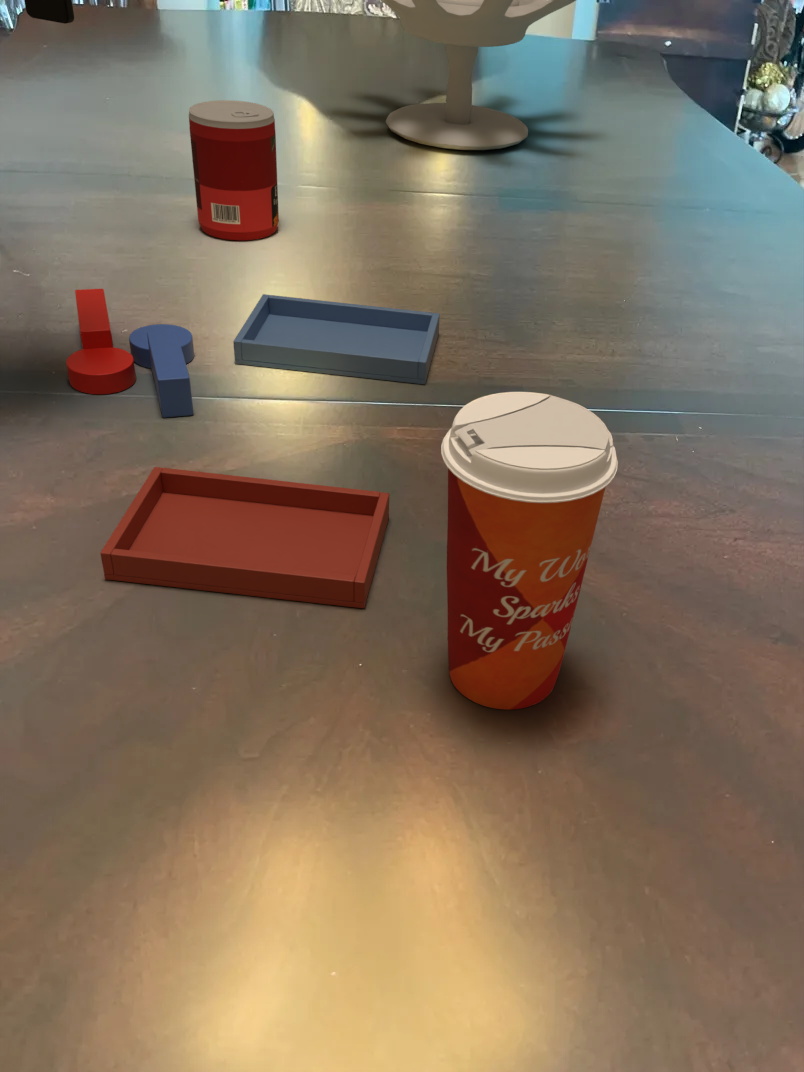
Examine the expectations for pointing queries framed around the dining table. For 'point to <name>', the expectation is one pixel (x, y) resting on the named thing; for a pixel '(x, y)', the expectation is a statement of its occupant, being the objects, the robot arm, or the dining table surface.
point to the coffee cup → (519, 539)
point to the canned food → (235, 168)
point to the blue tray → (338, 339)
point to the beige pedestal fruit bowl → (464, 68)
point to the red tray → (250, 537)
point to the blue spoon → (166, 364)
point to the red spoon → (98, 350)
